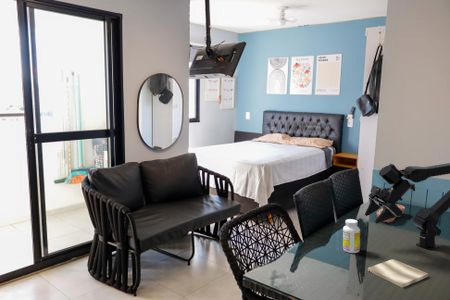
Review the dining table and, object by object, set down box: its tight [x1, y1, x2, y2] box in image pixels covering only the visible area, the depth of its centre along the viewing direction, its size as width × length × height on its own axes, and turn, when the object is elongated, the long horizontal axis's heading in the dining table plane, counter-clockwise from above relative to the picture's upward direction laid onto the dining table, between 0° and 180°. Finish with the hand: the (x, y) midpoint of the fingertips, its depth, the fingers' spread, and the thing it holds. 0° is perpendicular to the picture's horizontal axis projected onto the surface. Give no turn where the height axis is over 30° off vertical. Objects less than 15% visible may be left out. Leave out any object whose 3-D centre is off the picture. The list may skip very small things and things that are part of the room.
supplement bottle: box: [342, 218, 361, 254], centre depth 149 cm, size 7×7×13 cm
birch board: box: [367, 258, 429, 289], centre depth 129 cm, size 14×14×1 cm
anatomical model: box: [376, 203, 406, 224], centre depth 187 cm, size 23×10×5 cm, turn 137°
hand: (370, 218), depth 148 cm, fingers open, 9 cm apart
